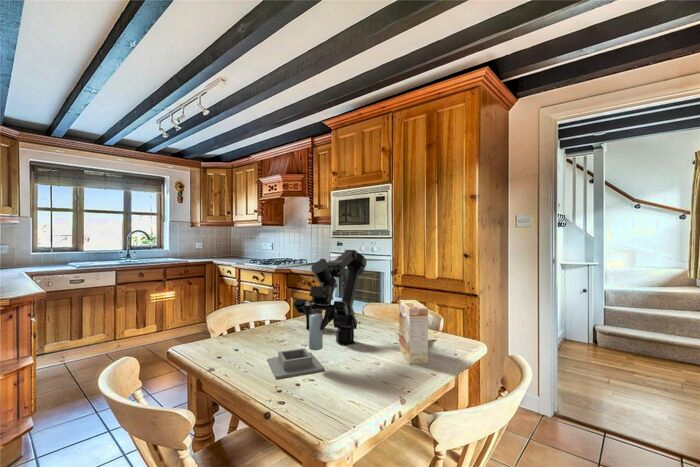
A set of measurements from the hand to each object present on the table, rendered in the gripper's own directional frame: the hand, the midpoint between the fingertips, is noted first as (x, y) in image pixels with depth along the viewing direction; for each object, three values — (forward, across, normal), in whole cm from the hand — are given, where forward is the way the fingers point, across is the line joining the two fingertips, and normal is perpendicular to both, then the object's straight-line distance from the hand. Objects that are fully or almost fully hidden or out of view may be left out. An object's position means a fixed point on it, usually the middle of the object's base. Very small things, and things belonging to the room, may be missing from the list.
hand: (314, 329), depth 107 cm
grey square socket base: (+8, -8, +11) cm, 16 cm away
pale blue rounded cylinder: (+4, 0, +6) cm, 7 cm away
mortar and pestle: (-22, -17, +42) cm, 50 cm away
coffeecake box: (-6, +30, +26) cm, 40 cm away
